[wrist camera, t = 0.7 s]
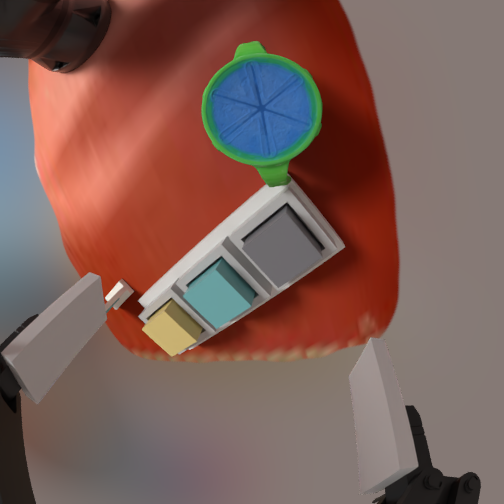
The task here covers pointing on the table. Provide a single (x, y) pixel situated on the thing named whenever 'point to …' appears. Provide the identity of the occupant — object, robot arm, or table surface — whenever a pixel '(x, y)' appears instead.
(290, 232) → the charcoal button
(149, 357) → the table surface
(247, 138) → the snack cup
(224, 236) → the board
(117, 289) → the sign
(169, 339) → the mustard button
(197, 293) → the teal button
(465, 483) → the robot arm
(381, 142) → the table surface
